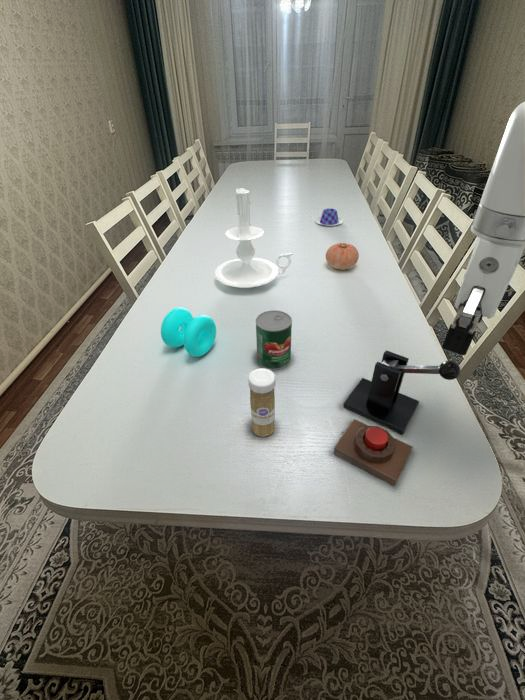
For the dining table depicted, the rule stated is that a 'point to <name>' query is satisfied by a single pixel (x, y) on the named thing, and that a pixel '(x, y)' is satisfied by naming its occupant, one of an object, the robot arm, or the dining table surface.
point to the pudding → (329, 218)
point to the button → (375, 438)
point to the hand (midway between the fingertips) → (461, 334)
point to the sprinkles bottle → (262, 401)
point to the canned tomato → (273, 339)
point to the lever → (428, 368)
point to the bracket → (383, 396)
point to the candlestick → (247, 253)
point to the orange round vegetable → (342, 256)
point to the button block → (373, 453)
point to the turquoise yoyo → (188, 331)
